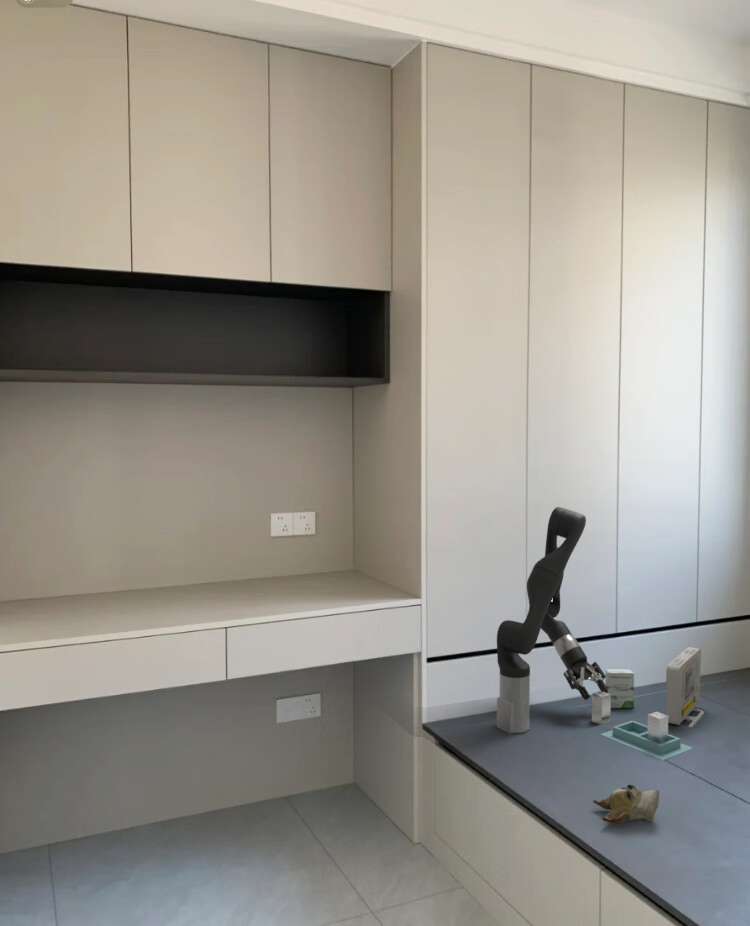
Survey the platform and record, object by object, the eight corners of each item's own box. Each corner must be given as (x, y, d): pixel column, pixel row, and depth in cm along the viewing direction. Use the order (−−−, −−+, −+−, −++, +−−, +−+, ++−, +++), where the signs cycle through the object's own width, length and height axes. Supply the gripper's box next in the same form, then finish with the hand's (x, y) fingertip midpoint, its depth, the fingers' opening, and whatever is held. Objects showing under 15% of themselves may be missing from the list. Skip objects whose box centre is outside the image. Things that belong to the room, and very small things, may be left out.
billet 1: (601, 725, 261) (602, 697, 260) (591, 721, 264) (592, 693, 263) (610, 722, 263) (610, 694, 262) (600, 718, 266) (600, 690, 266)
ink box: (631, 703, 280) (631, 668, 279) (634, 708, 275) (634, 673, 274) (604, 702, 280) (605, 667, 280) (607, 707, 276) (607, 672, 275)
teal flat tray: (662, 765, 232) (662, 751, 232) (600, 739, 250) (600, 726, 250) (693, 753, 240) (693, 739, 240) (630, 728, 258) (630, 716, 258)
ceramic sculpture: (665, 793, 196) (601, 796, 197) (667, 829, 197) (603, 832, 197) (651, 774, 207) (591, 777, 207) (653, 808, 207) (592, 811, 208)
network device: (680, 703, 279) (682, 644, 278) (708, 709, 274) (709, 649, 273) (657, 727, 259) (659, 664, 257) (686, 734, 254) (688, 669, 252)
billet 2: (658, 749, 239) (659, 718, 238) (647, 744, 242) (647, 714, 241) (667, 746, 241) (668, 715, 240) (655, 741, 244) (656, 711, 244)
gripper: (561, 649, 267) (588, 694, 258) (591, 641, 275) (618, 685, 266) (548, 661, 272) (575, 706, 263) (578, 653, 280) (605, 697, 271)
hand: (597, 695), depth 265 cm, fingers open, 8 cm apart
